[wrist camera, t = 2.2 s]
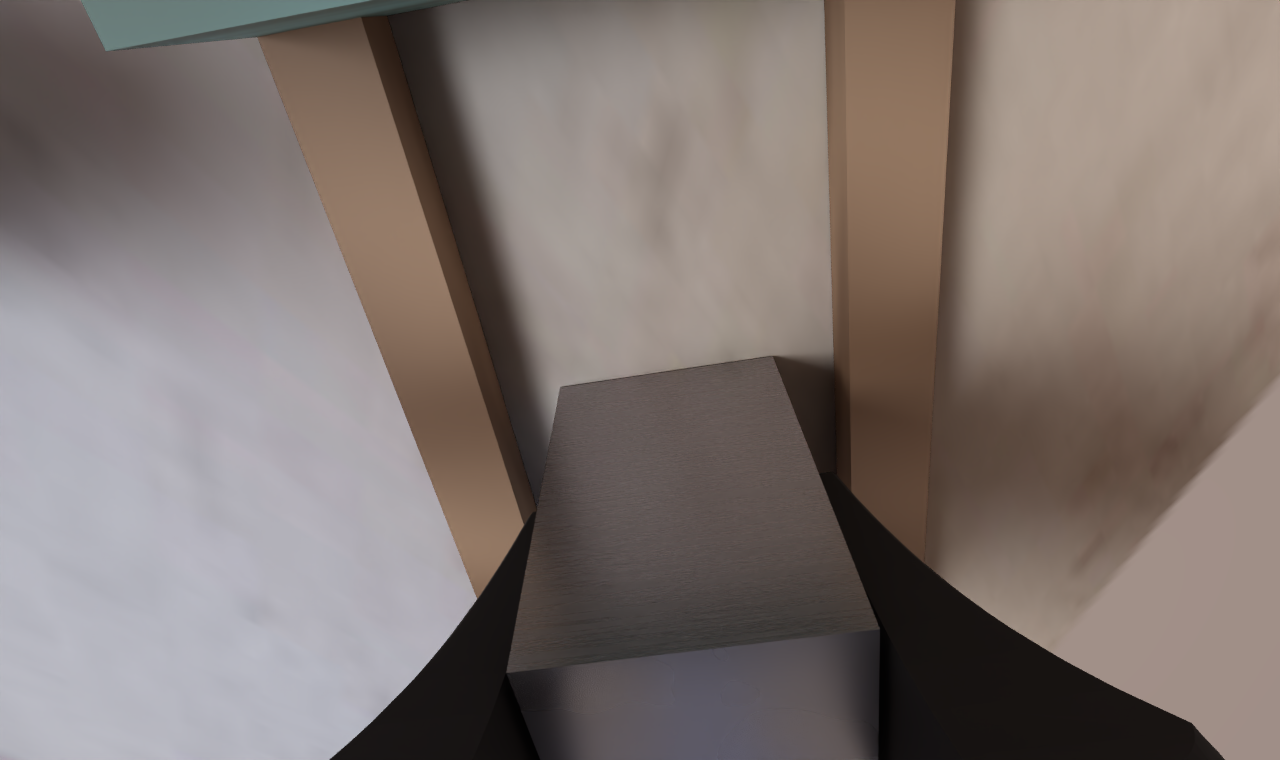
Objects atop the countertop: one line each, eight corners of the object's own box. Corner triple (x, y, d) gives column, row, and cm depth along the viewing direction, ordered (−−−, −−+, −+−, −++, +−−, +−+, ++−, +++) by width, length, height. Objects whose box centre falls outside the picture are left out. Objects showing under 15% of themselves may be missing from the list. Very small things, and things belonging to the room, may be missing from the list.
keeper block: (785, 521, 16) (876, 835, 10) (600, 545, 17) (580, 864, 10) (772, 356, 14) (879, 629, 8) (560, 387, 14) (506, 673, 8)
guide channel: (902, 603, 18) (980, 776, 14) (519, 649, 18) (488, 825, 14) (934, -261, 9) (1151, -447, 5) (237, -116, 10) (-13, -189, 6)
